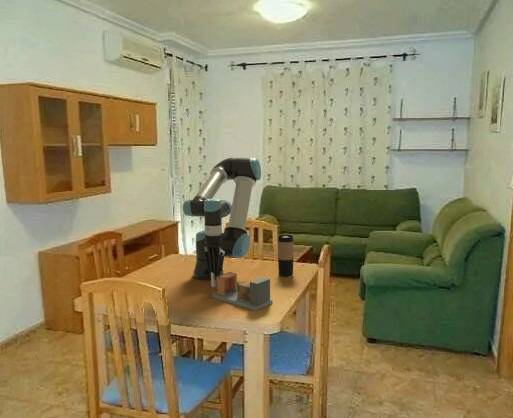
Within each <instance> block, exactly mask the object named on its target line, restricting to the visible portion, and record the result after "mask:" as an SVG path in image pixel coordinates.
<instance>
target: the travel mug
mask: <svg viewBox="0 0 513 418" xmlns="http://www.w3.org/2000/svg"><path fill="white" fill-rule="evenodd" d="M277 237H278V238H277V243H278V244H277V245H278V246H277V251H278V252H277V261H278V262H277V263H278V265H277V266H278V267H277V268H278V276H279V277H281V276H282V278H289V276H291V277H293V276H294V235H291V234H279V235H278V236H277ZM292 275H293V276H292Z"/></svg>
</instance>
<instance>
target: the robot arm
mask: <svg viewBox="0 0 513 418" xmlns="http://www.w3.org/2000/svg"><path fill="white" fill-rule="evenodd" d="M261 177H262V168H261V163H260V160H258V158H256V157H228V158H225V159H223V160H221V161H219V162H218V163H217V164H215V165H214V166H213V168H212V169H211V170H210V172H209V176H208V178H207V179H206V181H205V182H204V184H202V186H201V188H200V189H199V190H198V192H197V193H196V194H195V196H194V197H193V199H186V200H184V202H183V204H182V211H183V214H184V215H185V216H186V217H201V218H202V217H203V218H204V219H203V220H204V229H203V230H200V231H198V232H197V233H196V234H195V240H194V241H195V255H196V257H195V258H196V259H195V260H196V261H195V265H194V269H193V272H192V274H193V278H195V279H198V280H209V281H210V285H211V286H210V287H211V288H216V276H219V275H222V274H224V269H223V267H224V260H225V258H226V257H227V258H228V257H229V258H234V259H235V258H236V259H237V258H244V257H245V256H246V255H247V253H248V252H249V249H250V245H251V237H250V235H249V234H248V230H247V229H246V225H247V221H248V220H247V219H248V214H249V206H250V202H251V197H252V191H253V187H255V186H256V184H257V181H260V180H261ZM230 180H231V181H232V180H233V182H234V183H235V188H234V191H233V198H232V203H231V202H230V201H228V200H226V199H219V198H214V197H215V196H216V194H217V192H218V191H219V190H220V188H221V186H222V185H223V184H225V183H226V182H227V181H230ZM228 216H229V220H228V224H227V226H225V227H224V229H223V225H222V224H223V223H222V221H223V218H226V217H228Z"/></svg>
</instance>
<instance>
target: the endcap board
mask: <svg viewBox="0 0 513 418" xmlns="http://www.w3.org/2000/svg"><path fill="white" fill-rule="evenodd" d="M249 283H250V301H246V300H243V299H240V298H237V291H233V290H227V291H225V295H224V296H222V295H219V294H216V292H213V293H211V298H212V299H216V300H218V301H222V302H225V303H229V304H231V305H235V306H237V307H241V308H245V309H248V310H251V311H254V312H255V311H256V312H257V311H258V310H260V309H262V308H265V307H268V306H269V305H271V304H273V299H271V278H267V277H263V276H262V277H260V278H256V279H253V280H251V281H249Z"/></svg>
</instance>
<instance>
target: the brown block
mask: <svg viewBox="0 0 513 418" xmlns="http://www.w3.org/2000/svg"><path fill="white" fill-rule="evenodd" d="M237 298H240V299H243V300H246V301H250V282H246V281H242V282H240V283H237Z"/></svg>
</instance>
